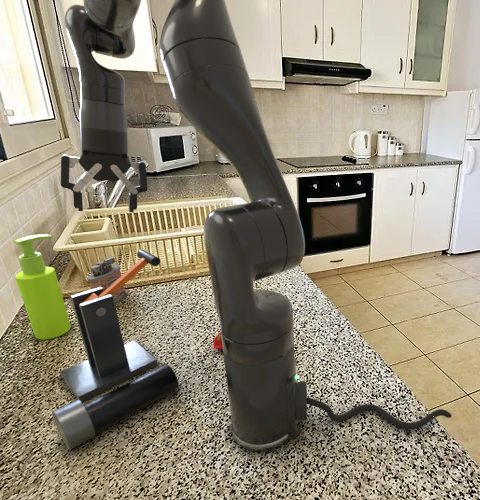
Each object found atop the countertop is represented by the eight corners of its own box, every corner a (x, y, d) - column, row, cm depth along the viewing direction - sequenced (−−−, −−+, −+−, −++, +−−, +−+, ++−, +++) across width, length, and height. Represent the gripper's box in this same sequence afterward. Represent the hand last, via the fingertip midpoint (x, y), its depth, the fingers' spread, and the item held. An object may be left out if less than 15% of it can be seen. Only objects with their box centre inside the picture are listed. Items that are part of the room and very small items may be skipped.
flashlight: (165, 379, 63) (159, 352, 61) (182, 395, 60) (177, 366, 58) (59, 435, 52) (48, 404, 50) (73, 458, 49) (62, 425, 47)
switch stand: (135, 345, 72) (120, 275, 67) (157, 365, 67) (143, 291, 61) (61, 377, 63) (36, 300, 58) (80, 403, 58) (55, 321, 53)
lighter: (103, 309, 84) (93, 269, 80) (90, 308, 84) (80, 267, 81) (130, 293, 91) (121, 255, 88) (118, 291, 92) (109, 254, 88)
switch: (149, 255, 68) (140, 246, 66) (163, 263, 65) (154, 254, 63) (86, 310, 62) (74, 302, 60) (98, 322, 59) (86, 314, 57)
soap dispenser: (82, 326, 77) (56, 235, 70) (42, 342, 72) (10, 246, 65) (68, 318, 80) (43, 229, 73) (29, 333, 75) (-2, 239, 68)
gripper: (56, 121, 64) (61, 214, 68) (149, 133, 73) (149, 215, 76) (58, 121, 70) (63, 207, 74) (143, 132, 78) (144, 208, 82)
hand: (106, 211), depth 75 cm, fingers open, 8 cm apart
